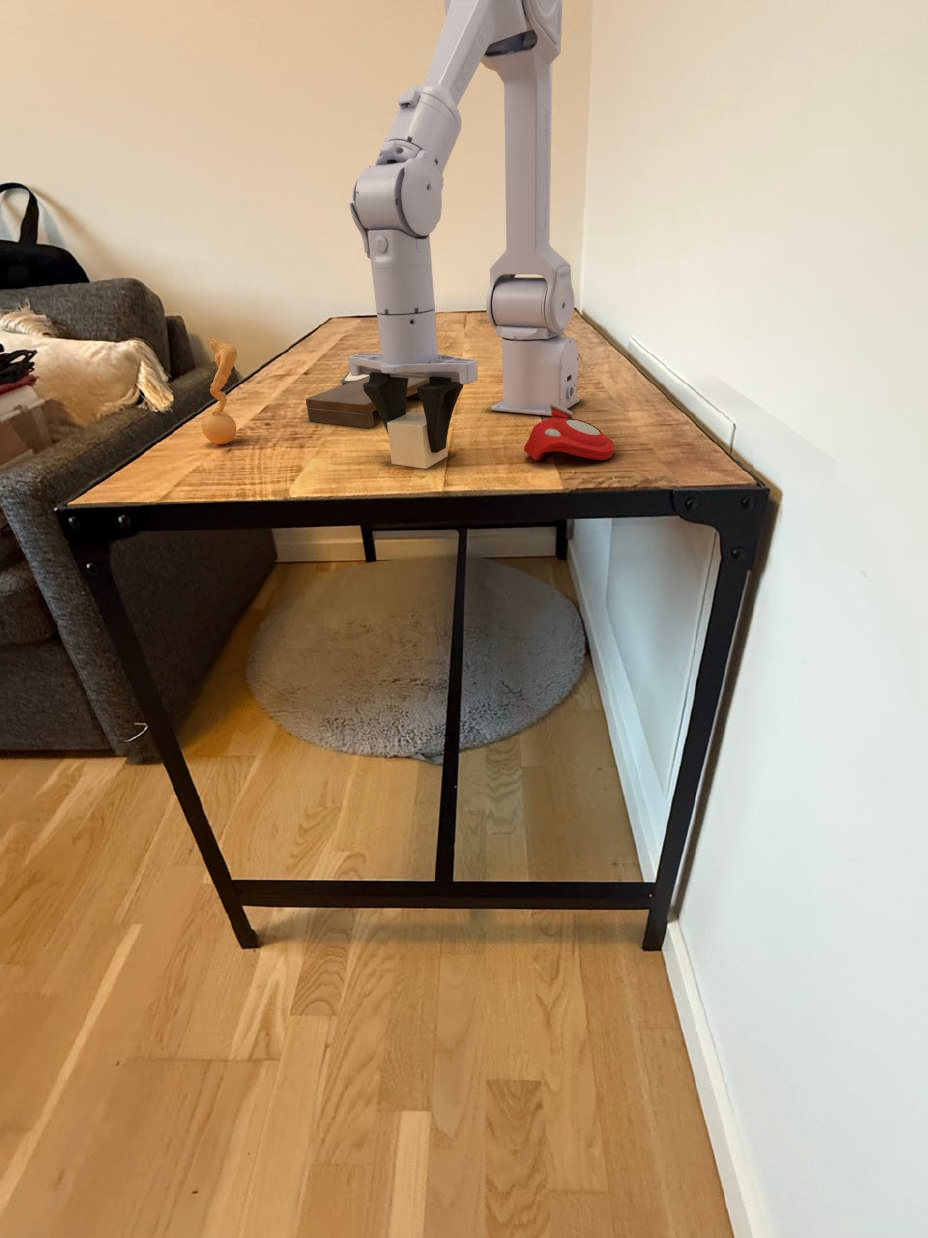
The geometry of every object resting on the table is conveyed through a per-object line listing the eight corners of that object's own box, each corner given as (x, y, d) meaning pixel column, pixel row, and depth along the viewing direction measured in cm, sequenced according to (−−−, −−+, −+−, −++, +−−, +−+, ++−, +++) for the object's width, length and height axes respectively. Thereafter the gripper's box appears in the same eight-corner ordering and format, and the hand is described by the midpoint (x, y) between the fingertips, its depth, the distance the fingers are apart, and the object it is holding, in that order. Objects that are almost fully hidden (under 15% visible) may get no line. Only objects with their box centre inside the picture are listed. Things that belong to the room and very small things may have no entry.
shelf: (435, 397, 97) (434, 376, 95) (368, 428, 85) (365, 404, 83) (379, 393, 101) (377, 372, 99) (309, 421, 90) (305, 398, 88)
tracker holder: (637, 443, 70) (567, 440, 65) (620, 481, 73) (552, 481, 67) (568, 395, 78) (500, 389, 72) (554, 431, 80) (488, 428, 75)
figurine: (213, 435, 86) (187, 335, 80) (260, 431, 87) (239, 331, 80) (199, 455, 79) (171, 347, 73) (251, 450, 80) (227, 343, 73)
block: (448, 456, 74) (445, 415, 72) (426, 469, 71) (422, 426, 68) (414, 451, 76) (410, 411, 74) (391, 464, 73) (386, 422, 70)
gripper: (322, 315, 66) (343, 450, 73) (447, 318, 59) (457, 467, 67) (365, 305, 71) (381, 432, 78) (485, 307, 64) (490, 446, 72)
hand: (418, 447), depth 73 cm, fingers closed on block, 4 cm apart
